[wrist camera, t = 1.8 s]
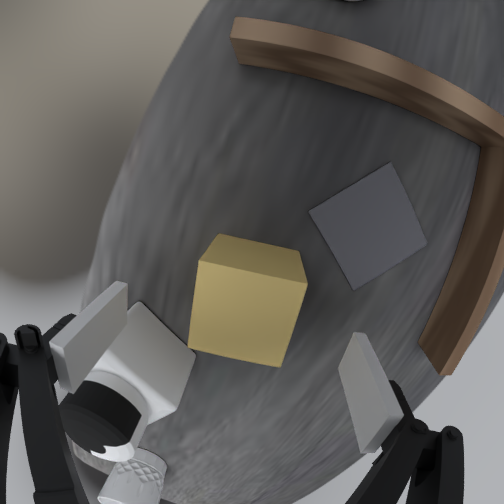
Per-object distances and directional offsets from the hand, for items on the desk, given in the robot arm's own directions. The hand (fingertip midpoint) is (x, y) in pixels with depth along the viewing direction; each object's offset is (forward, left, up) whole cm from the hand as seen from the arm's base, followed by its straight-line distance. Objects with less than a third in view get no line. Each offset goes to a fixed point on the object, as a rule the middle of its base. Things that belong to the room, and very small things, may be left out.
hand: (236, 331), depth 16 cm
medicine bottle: (+8, +9, -7) cm, 14 cm away
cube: (0, 0, -7) cm, 7 cm away
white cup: (+9, +32, -7) cm, 34 cm away
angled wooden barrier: (-7, -7, -7) cm, 12 cm away
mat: (-8, -6, -7) cm, 12 cm away
